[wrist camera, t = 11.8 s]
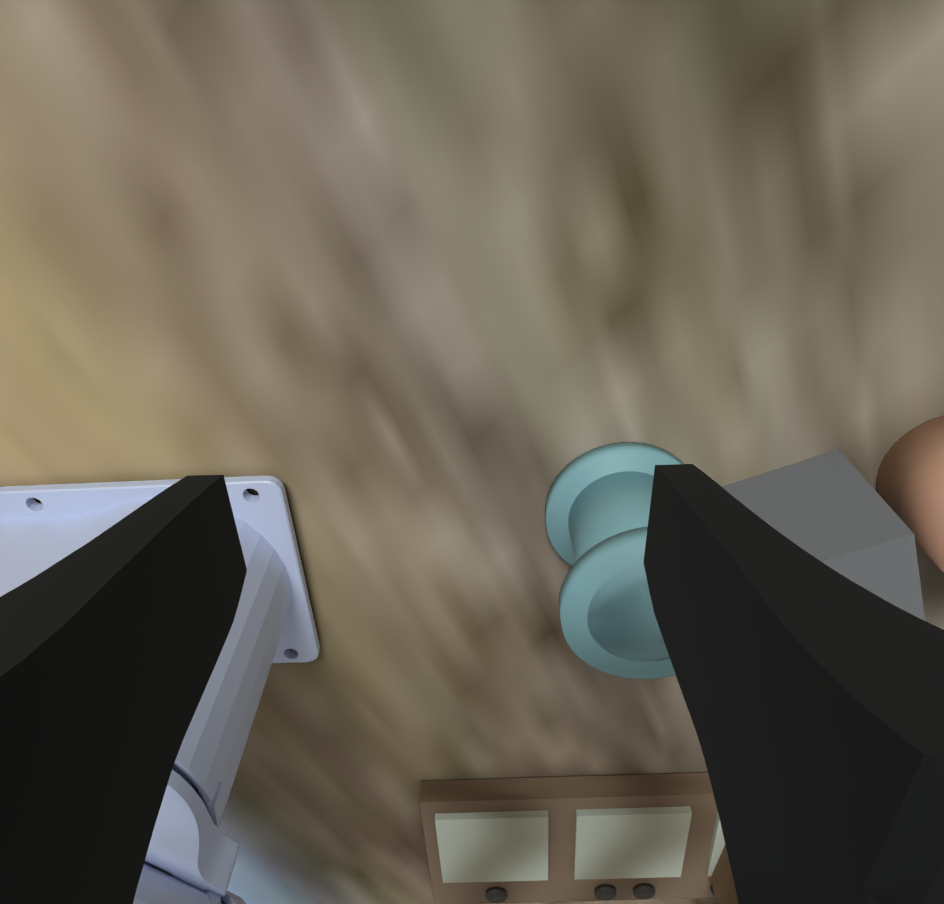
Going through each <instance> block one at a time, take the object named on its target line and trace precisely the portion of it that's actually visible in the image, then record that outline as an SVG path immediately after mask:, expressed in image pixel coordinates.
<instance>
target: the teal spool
mask: <svg viewBox="0 0 944 904" xmlns="http://www.w3.org/2000/svg"><path fill="white" fill-rule="evenodd" d="M675 464H683V463H682V462H681V461H680V460H679V459H678V458H677V457H675V456H674V455H673V454H671V453H669V452H668V451H666V450H664V449H661V448H659V447H656V446H653V445H649V444H645V443H637V442H621V443H613V444H608V445H604V446H601V447H598V448H595V449H592V450H590V451H588V452H586V453H584V454H582V455H581V456H579V457H577V458H576V459H574V460H573V461H572V462H571V463H569V464H568V465H567V466H566V467H565V468H564V469H563V470H562V471H561V472H560V473H559V475H558V476H557V477H556V479H555V480H554V482H553V484H552V485H551V487H550V490H549V492H548V495H547V499H546V503H545V519H546V526H547V531H548V535H549V539H550V541H551V543H552V545H553V547H554V549H555V550H556V552H557V553H558V554H559V555H560V556H561V558H562V559H564V560H565V561H566V562H567V563H568V564H570V565H571V566H572V567H571V569H570V570H569V572H568V573H567V575H566V577H565V579H564V581H563V583H562V586H561V590H560V594H559V612H560V619H561V626H562V630H563V634H564V637H565V639H566V641H567V643H568V645H569V646H570V648H571V649H572V651H573V652H574V653H575V654H576V655H577V656H578V657H579V658H580V659H582V660H583V661H584V662H585V663H587V664H588V665H590V666H592V667H593V668H595V669H597V670H600V671H602V672H604V673H607V674H610V675H614V676H618V677H623V678H631V679H655V678H663V677H669V676H673V675H676V674H675V671H674V668H673V665H672V663H671V660H670V657H669V654H668V652H667V649H666V646H665V643H664V640H663V637H662V635H661V632H660V629H659V626H658V623H657V620H656V617H655V614H654V610H653V606H652V601H651V597H650V592H649V587H648V582H647V577H646V572H645V567H644V554H645V545H646V537H647V528H648V520H649V512H650V503H651V495H652V486H653V478H654V469H655V465H675Z"/></svg>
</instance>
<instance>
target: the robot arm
mask: <svg viewBox="0 0 944 904" xmlns="http://www.w3.org/2000/svg"><path fill="white" fill-rule="evenodd" d="M249 488H250V489H254V490H256V491H257V492H258V493H259V495H252V494H250V493H249V492H248V491H247V489H249ZM33 498H36V499H38V500H40V501H41V503H42V504H40V503H38V502H36V501H35V500H34V499H33ZM644 567H645V572H646V577H647V582H648V587H649V592H650V597H651V601H652V606H653V610H654V614H655V617H656V620H657V623H658V626H659V629H660V632H661V635H662V637H663V640H664V643H665V646H666V649H667V652H668V654H669V657H670V660H671V663H672V665H673V668H674V671H675V674H676V676H677V679H678V682H679V685H680V688H681V690H682V693H683V696H684V699H685V701H686V704H687V707H688V710H689V712H690V715H691V718H692V721H693V724H694V726H695V729H696V732H697V735H698V738H699V742H700V745H701V748H702V751H703V755H704V758H705V762H706V766H707V770H708V774H709V778H710V782H711V786H712V790H713V794H714V798H715V802H716V806H717V810H718V814H719V819H720V823H721V827H722V832H723V836H724V841H725V845H726V849H727V854H728V858H729V863H730V867H731V871H732V876H733V880H734V884H735V889H736V894H737V899H738V904H944V630H942V629H940V628H938V627H936V626H934V625H932V624H930V623H928V622H926V621H924V620H922V619H920V618H918V617H916V616H914V615H912V614H910V613H908V612H906V611H904V610H902V609H900V608H898V607H897V606H895V605H893V604H891V603H889V602H887V601H886V600H884V599H882V598H880V597H879V596H877V595H875V594H874V593H872V592H870V591H868V590H867V589H865V588H863V587H861V586H860V585H858V584H856V583H854V582H853V581H851V580H849V579H848V578H846V577H844V576H843V575H841V574H840V573H838V572H836V571H835V570H833V569H832V568H830V567H829V566H827V565H826V564H824V563H823V562H821V561H820V560H818V559H817V558H815V557H814V556H812V555H811V554H809V553H808V552H806V551H805V550H803V549H802V548H801V547H799V546H798V545H796V544H795V543H793V542H792V541H791V540H789V539H788V538H787V537H785V536H784V535H782V534H781V533H780V532H778V531H777V530H776V529H774V528H773V527H772V526H770V525H769V524H768V523H766V522H765V521H764V520H762V519H761V518H760V517H759V516H757V515H756V514H755V513H753V512H752V511H751V510H750V509H748V508H747V507H746V506H745V505H743V504H742V503H741V502H740V501H738V500H737V499H736V498H735V497H733V496H732V495H731V494H730V493H728V492H727V491H726V490H725V489H723V488H722V487H721V486H720V485H719V484H717V483H716V482H715V481H714V480H712V479H711V478H710V477H709V476H707V475H706V474H705V473H704V472H702V471H701V470H700V469H698V468H697V467H696V466H694V465H693V464H675V465H655V469H654V478H653V486H652V495H651V503H650V512H649V520H648V528H647V537H646V545H645V554H644ZM289 649H294V650H296V651H291V650H289ZM319 650H320V644H319V640H318V635H317V631H316V626H315V622H314V617H313V613H312V608H311V604H310V599H309V595H308V590H307V586H306V581H305V576H304V572H303V567H302V563H301V558H300V554H299V549H298V545H297V540H296V536H295V531H294V527H293V522H292V518H291V513H290V509H289V504H288V500H287V495H286V491H285V487H284V485H283V483H282V482H281V481H280V480H279V479H277V478H275V477H273V476H244V477H224V475H200V476H186V477H185V478H183V479H172V480H148V481H125V482H101V483H77V484H53V485H30V486H6V487H0V904H246V903H245V902H244V901H243V900H242V899H241V898H240V897H238V896H236V895H234V894H232V893H230V892H228V891H227V888H228V885H229V881H230V878H231V874H232V871H233V868H234V864H235V861H236V857H237V854H238V850H239V847H240V846H239V844H238V842H236V841H235V840H233V839H231V838H230V837H228V836H226V835H225V834H224V833H223V832H222V831H220V830H219V826H220V822H221V819H222V816H223V813H224V810H225V807H226V804H227V801H228V798H229V795H230V792H231V788H232V785H233V782H234V779H235V776H236V773H237V770H238V767H239V764H240V761H241V758H242V755H243V751H244V748H245V745H246V742H247V739H248V736H249V733H250V730H251V727H252V724H253V721H254V718H255V714H256V711H257V708H258V705H259V702H260V699H261V696H262V693H263V690H264V687H265V684H266V681H267V677H268V674H269V671H270V668H271V665H272V663H296V662H310V661H313V660H315V659H316V658H317V657H318V654H319Z"/></svg>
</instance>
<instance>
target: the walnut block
mask: <svg viewBox="0 0 944 904" xmlns="http://www.w3.org/2000/svg"><path fill="white" fill-rule="evenodd" d="M710 879H711V883H712V886H713V890H714V893H715V897H716V900H717V904H738V899H737V894H736V889H735V884H734V880H733V876H732V871H731V867H730V863H729V858H728V854H727V849H726V845H725V846H724V848H723V850H722V853H721V855H720V857H719V859H718V862H717V864H716V866H715V869H714V871H713V873H712V875H711V878H710Z"/></svg>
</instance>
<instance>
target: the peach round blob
mask: <svg viewBox="0 0 944 904" xmlns="http://www.w3.org/2000/svg"><path fill="white" fill-rule="evenodd" d="M876 487H877V493H878V494H879V495H880V496H881V497H882V498H883V500H884V501H885V502H886V503H887V504H888V505H889V506H890V507H891V509H892V510H893V511H894V512H895V513H896V514H897V515H898V516H899V518H900V519H901V520H902V521H903V522H904V523H905V524H906V525H907V526H908V528H909V529H910V530H911V531H912V532H913V533H914V536H915V541H916V542H917V543H918V544H919V546H920V547H921V548H922V549H923V550H924V551H925V552H926V554H927V555H928V556H929V557H930V558H931V559H932V560H933V562H934V563H935V564H936V565H937V566H938V567H939V568H940V569H941V571H942V572H943V573H944V416H941V417H937V418H934V419H932V420H929V421H927V422H924V423H922V424H921V425H919V426H917V427H915V428H914V429H912V430H911V431H909V432H908V433H906V434H905V435H904V436H902V437H901V438H900V439H899V440H898V441H897V442H896V443H895V444H894V445H893V446H892V447H891V449H890V450H889V451H888V452H887V454H886V455H885V457H884V459H883V461H882V463H881V464H880V467H879V470H878V474H877V479H876Z"/></svg>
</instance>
